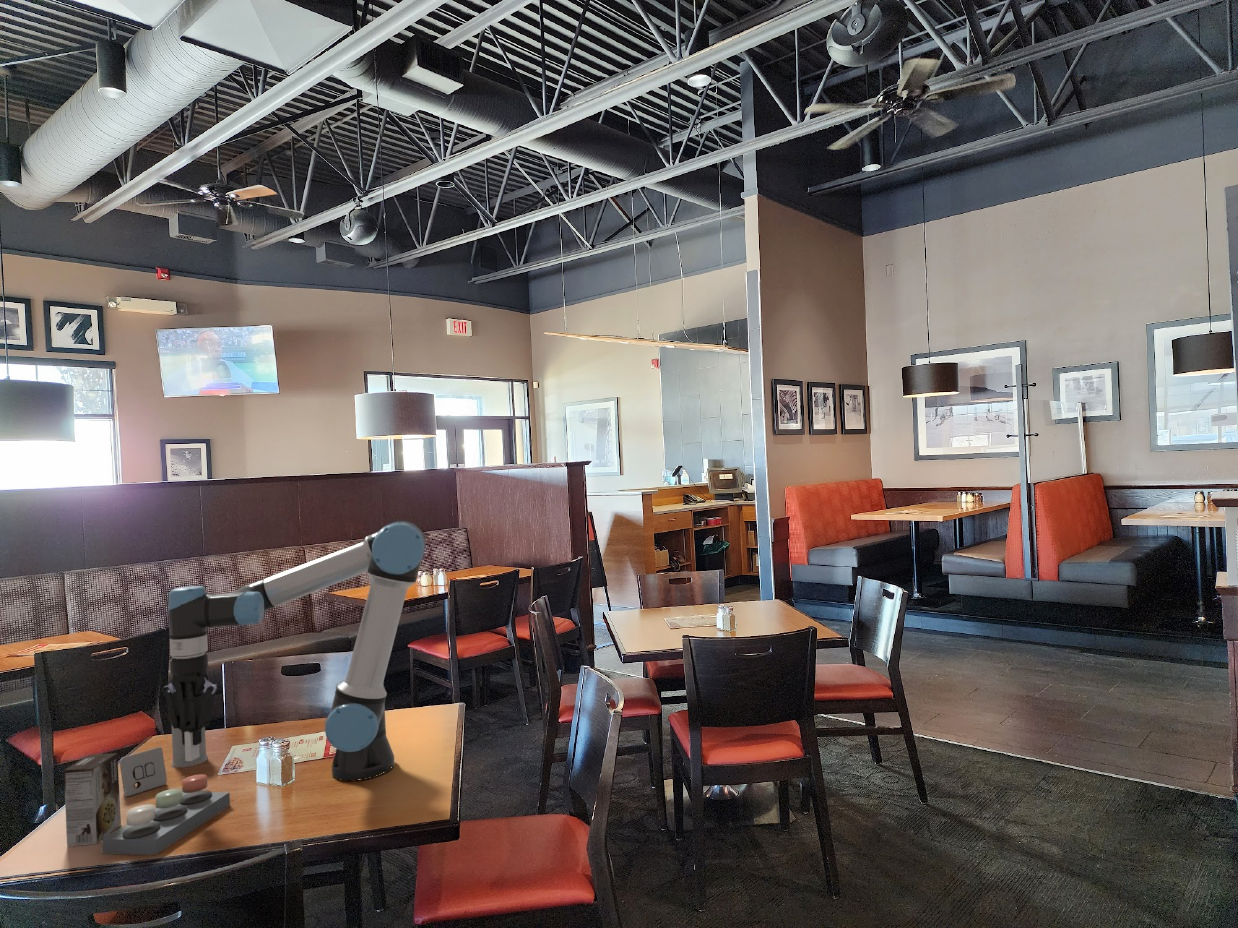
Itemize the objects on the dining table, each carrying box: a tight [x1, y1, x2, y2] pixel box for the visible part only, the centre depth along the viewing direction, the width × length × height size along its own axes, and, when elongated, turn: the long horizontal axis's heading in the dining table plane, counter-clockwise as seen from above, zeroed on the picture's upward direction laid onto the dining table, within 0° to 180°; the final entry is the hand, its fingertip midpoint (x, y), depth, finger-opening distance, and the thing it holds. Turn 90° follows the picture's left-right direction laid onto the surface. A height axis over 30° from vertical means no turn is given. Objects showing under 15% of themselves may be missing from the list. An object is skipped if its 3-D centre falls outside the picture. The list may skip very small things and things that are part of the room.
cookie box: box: [63, 752, 122, 847], centre depth 164 cm, size 9×6×16 cm
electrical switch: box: [119, 747, 168, 797], centre depth 190 cm, size 9×5×9 cm, turn 141°
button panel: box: [101, 789, 231, 856], centre depth 166 cm, size 12×23×4 cm, turn 172°
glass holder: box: [170, 721, 209, 769], centre depth 210 cm, size 9×14×15 cm, turn 39°
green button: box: [155, 788, 183, 809], centre depth 166 cm, size 5×5×2 cm
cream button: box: [126, 803, 156, 826], centre depth 158 cm, size 5×5×2 cm
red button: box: [181, 773, 208, 793], centre depth 174 cm, size 5×5×2 cm
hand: (192, 758), depth 174 cm, fingers closed
